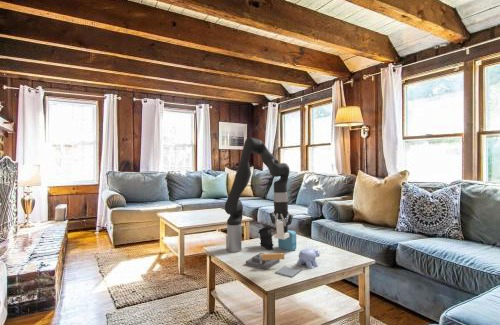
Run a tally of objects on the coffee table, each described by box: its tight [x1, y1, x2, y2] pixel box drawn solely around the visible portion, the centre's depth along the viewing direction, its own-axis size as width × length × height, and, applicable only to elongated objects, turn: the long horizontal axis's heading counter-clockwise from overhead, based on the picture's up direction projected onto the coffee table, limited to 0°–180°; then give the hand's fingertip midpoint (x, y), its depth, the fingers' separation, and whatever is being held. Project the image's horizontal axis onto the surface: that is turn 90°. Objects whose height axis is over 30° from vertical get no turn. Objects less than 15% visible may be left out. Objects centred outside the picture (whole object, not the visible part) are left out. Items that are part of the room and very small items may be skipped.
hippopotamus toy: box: [296, 248, 321, 270], centre depth 164 cm, size 11×15×10 cm
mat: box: [274, 265, 302, 278], centre depth 153 cm, size 10×10×1 cm
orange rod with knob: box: [258, 252, 285, 260], centre depth 160 cm, size 2×14×3 cm, turn 96°
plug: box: [273, 221, 289, 240], centre depth 156 cm, size 6×6×8 cm
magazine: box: [257, 225, 274, 251], centre depth 194 cm, size 4×13×15 cm, turn 29°
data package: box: [277, 229, 297, 252], centre depth 192 cm, size 12×4×12 cm, turn 43°
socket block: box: [245, 252, 281, 271], centre depth 166 cm, size 14×14×4 cm
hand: (281, 232), depth 156 cm, fingers closed on plug, 4 cm apart
